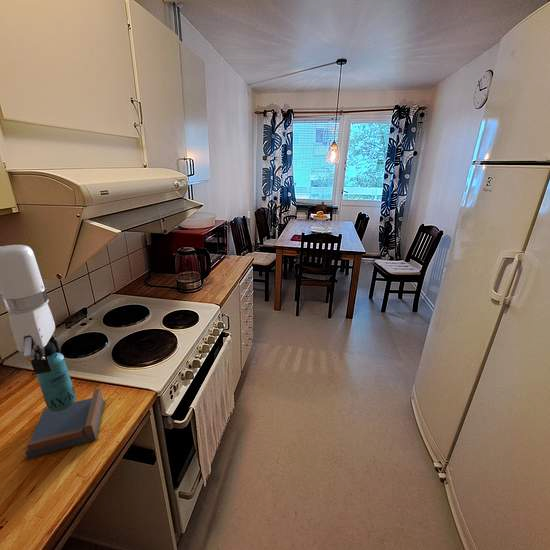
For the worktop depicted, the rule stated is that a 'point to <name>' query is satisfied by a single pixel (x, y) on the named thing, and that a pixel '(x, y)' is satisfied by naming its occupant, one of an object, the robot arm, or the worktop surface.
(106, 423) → the worktop surface
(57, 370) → the beverage bottle
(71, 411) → the blue square tray
